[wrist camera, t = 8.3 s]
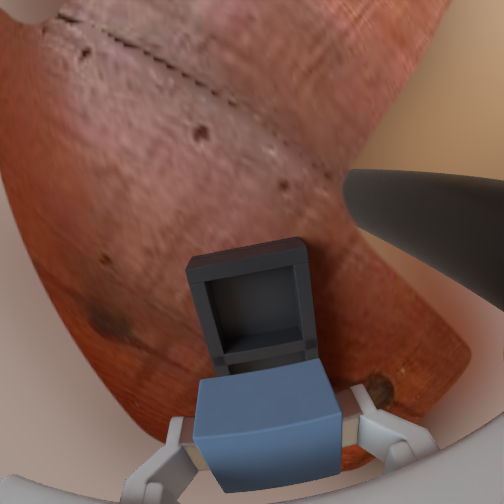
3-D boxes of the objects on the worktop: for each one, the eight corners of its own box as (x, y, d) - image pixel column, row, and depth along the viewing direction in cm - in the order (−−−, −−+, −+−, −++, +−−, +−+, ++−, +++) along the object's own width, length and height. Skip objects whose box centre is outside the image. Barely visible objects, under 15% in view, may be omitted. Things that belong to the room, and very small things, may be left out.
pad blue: (319, 356, 10) (343, 412, 7) (324, 423, 11) (341, 474, 8) (199, 378, 10) (191, 438, 7) (224, 440, 11) (224, 494, 8)
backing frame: (297, 236, 20) (306, 246, 18) (315, 387, 24) (323, 408, 22) (191, 256, 21) (184, 269, 18) (233, 402, 24) (233, 424, 22)
